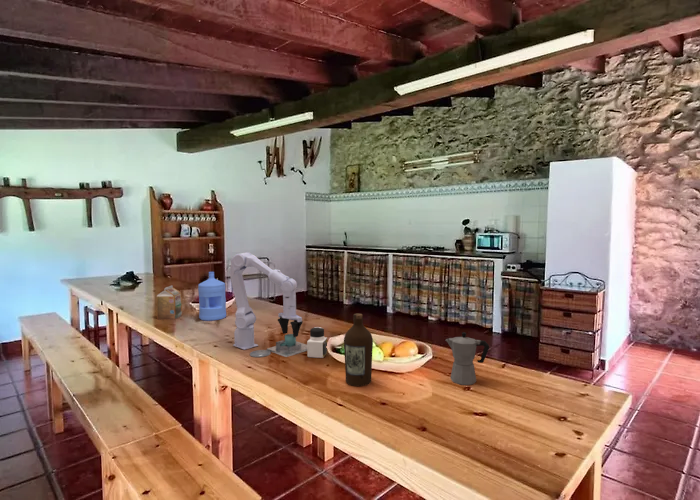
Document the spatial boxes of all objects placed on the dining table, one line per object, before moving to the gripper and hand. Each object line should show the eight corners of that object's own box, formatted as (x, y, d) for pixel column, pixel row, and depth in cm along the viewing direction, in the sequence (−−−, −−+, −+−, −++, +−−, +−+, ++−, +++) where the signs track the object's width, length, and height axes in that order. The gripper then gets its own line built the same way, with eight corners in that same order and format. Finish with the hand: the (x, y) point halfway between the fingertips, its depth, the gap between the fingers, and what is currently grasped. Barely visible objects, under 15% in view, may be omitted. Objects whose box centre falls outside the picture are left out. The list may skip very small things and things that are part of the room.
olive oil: (349, 374, 159) (348, 310, 157) (376, 377, 155) (375, 312, 153) (340, 385, 148) (339, 316, 146) (368, 388, 145) (368, 318, 143)
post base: (266, 350, 189) (266, 339, 188) (294, 342, 200) (294, 332, 200) (286, 357, 179) (285, 345, 179) (313, 348, 191) (313, 337, 190)
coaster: (245, 354, 183) (245, 353, 183) (262, 349, 190) (262, 348, 190) (257, 358, 177) (257, 357, 177) (274, 353, 184) (274, 352, 184)
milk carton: (174, 319, 248) (173, 288, 246) (157, 319, 248) (155, 288, 246) (182, 315, 258) (180, 285, 257) (165, 315, 258) (164, 285, 257)
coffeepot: (443, 382, 150) (443, 333, 149) (447, 373, 159) (447, 327, 158) (487, 388, 145) (488, 338, 143) (489, 379, 153) (490, 331, 152)
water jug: (206, 314, 260) (205, 270, 258) (230, 315, 258) (229, 270, 256) (194, 320, 245) (192, 273, 242) (219, 321, 242) (217, 273, 240)
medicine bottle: (323, 358, 177) (322, 330, 176) (307, 357, 179) (306, 330, 178) (327, 352, 184) (327, 326, 183) (312, 351, 186) (311, 325, 185)
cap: (277, 345, 187) (277, 336, 187) (291, 341, 193) (291, 333, 193) (284, 347, 184) (284, 339, 183) (298, 343, 190) (298, 335, 189)
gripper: (272, 304, 190) (273, 333, 191) (292, 309, 180) (293, 339, 181) (285, 302, 195) (285, 330, 196) (305, 306, 185) (305, 336, 186)
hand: (290, 334), depth 189 cm, fingers open, 7 cm apart
